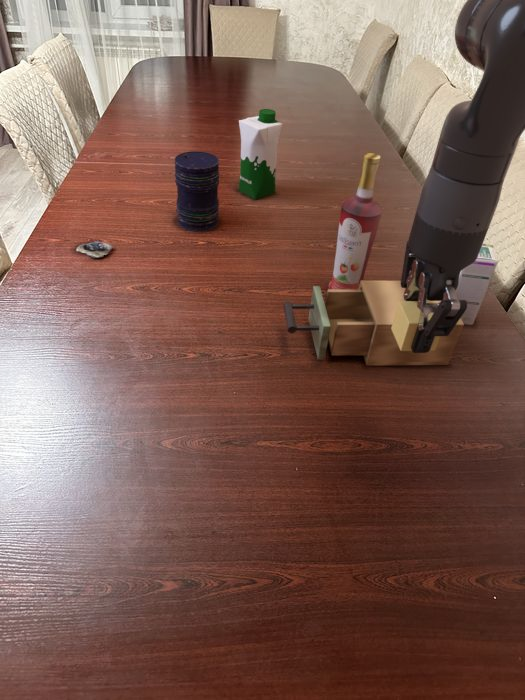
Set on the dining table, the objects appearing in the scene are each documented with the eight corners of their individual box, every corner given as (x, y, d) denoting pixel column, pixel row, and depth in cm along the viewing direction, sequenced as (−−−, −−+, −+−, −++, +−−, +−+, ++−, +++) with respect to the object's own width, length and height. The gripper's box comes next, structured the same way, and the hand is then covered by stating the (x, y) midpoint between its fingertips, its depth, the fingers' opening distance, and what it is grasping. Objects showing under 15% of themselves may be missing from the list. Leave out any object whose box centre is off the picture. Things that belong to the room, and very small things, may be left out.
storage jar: (226, 218, 126) (227, 157, 116) (206, 235, 119) (205, 172, 110) (190, 208, 129) (188, 147, 119) (169, 224, 122) (165, 162, 112)
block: (423, 328, 68) (433, 300, 65) (435, 350, 64) (445, 322, 61) (390, 328, 67) (398, 300, 64) (400, 351, 64) (409, 323, 61)
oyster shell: (104, 262, 109) (103, 254, 108) (68, 256, 110) (67, 248, 108) (117, 246, 114) (116, 238, 113) (83, 240, 115) (82, 232, 113)
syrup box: (473, 326, 100) (501, 260, 90) (442, 321, 100) (466, 256, 91) (469, 308, 104) (495, 244, 95) (439, 304, 105) (462, 240, 95)
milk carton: (280, 193, 138) (287, 115, 125) (254, 202, 134) (258, 121, 120) (258, 182, 143) (262, 105, 130) (232, 190, 138) (234, 110, 125)
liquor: (368, 291, 106) (401, 155, 88) (352, 308, 102) (383, 168, 83) (337, 279, 109) (362, 144, 91) (320, 294, 105) (342, 156, 86)
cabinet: (366, 365, 90) (377, 324, 84) (351, 320, 99) (360, 280, 93) (447, 365, 91) (464, 324, 85) (425, 320, 100) (439, 280, 94)
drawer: (286, 359, 88) (290, 326, 83) (279, 318, 97) (283, 285, 92) (394, 359, 90) (404, 326, 85) (378, 318, 98) (387, 286, 94)
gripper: (519, 248, 49) (462, 377, 61) (462, 184, 60) (423, 303, 71) (443, 247, 49) (400, 378, 60) (399, 182, 59) (370, 304, 70)
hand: (413, 337), depth 65 cm, fingers closed on block, 4 cm apart
